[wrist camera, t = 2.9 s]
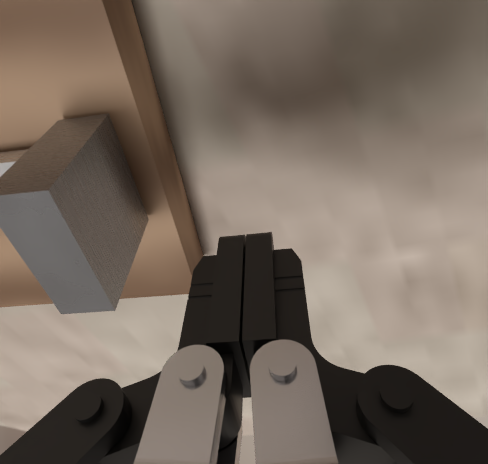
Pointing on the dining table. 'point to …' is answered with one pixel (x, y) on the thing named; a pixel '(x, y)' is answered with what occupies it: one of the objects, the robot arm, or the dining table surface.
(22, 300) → the deck
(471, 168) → the dining table surface
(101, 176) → the sled
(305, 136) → the dining table surface
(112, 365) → the dining table surface
